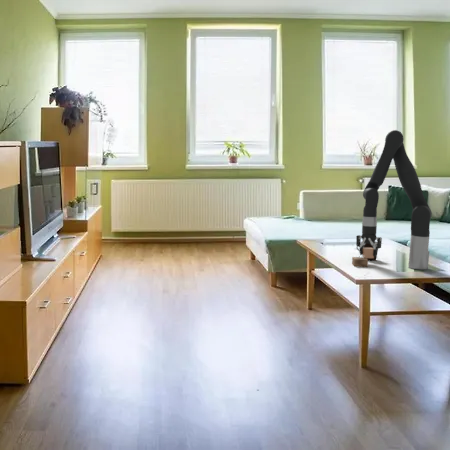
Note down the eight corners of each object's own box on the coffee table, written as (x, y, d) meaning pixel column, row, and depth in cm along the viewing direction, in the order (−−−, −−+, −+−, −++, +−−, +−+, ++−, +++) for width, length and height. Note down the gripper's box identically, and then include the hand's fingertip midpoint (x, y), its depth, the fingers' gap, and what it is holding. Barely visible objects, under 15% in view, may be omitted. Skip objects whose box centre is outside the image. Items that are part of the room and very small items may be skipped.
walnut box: (365, 264, 299) (365, 257, 298) (367, 267, 292) (367, 259, 291) (352, 264, 299) (352, 256, 299) (353, 266, 292) (354, 259, 292)
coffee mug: (379, 259, 317) (381, 242, 316) (375, 261, 310) (376, 243, 309) (359, 257, 323) (360, 240, 322) (355, 259, 316) (356, 241, 314)
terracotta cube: (371, 256, 303) (371, 247, 303) (373, 258, 298) (374, 249, 298) (362, 256, 303) (362, 247, 303) (364, 258, 298) (364, 249, 298)
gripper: (385, 225, 297) (383, 256, 299) (360, 223, 307) (359, 253, 308) (378, 226, 292) (377, 257, 293) (354, 224, 301) (352, 254, 303)
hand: (368, 255), depth 301 cm, fingers closed on terracotta cube, 7 cm apart
